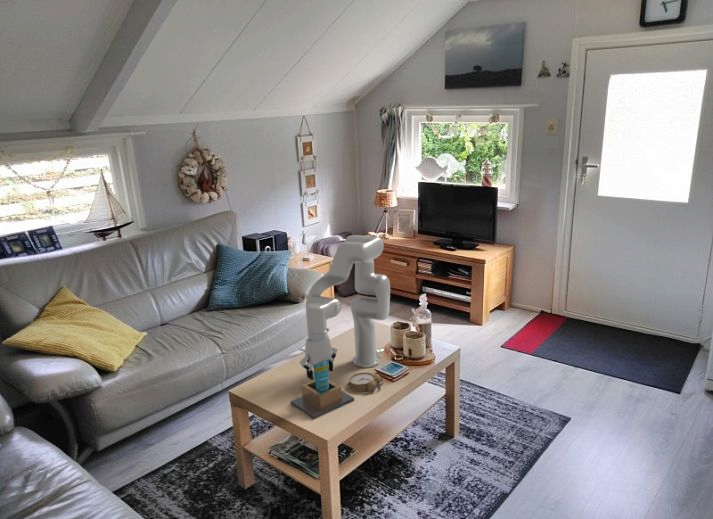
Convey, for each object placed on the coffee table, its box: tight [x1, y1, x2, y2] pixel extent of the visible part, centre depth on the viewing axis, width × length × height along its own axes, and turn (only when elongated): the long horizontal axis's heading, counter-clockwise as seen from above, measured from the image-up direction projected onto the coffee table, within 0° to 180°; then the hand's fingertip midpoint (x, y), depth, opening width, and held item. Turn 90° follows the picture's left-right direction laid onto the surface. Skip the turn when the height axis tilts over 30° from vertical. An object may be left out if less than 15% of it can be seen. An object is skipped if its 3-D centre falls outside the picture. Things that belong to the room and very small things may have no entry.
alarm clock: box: [346, 371, 384, 392], centre depth 233 cm, size 11×5×15 cm
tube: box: [312, 359, 330, 394], centre depth 220 cm, size 7×5×19 cm, turn 123°
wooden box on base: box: [290, 379, 355, 420], centre depth 221 cm, size 20×16×7 cm
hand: (320, 374), depth 219 cm, fingers open, 9 cm apart
